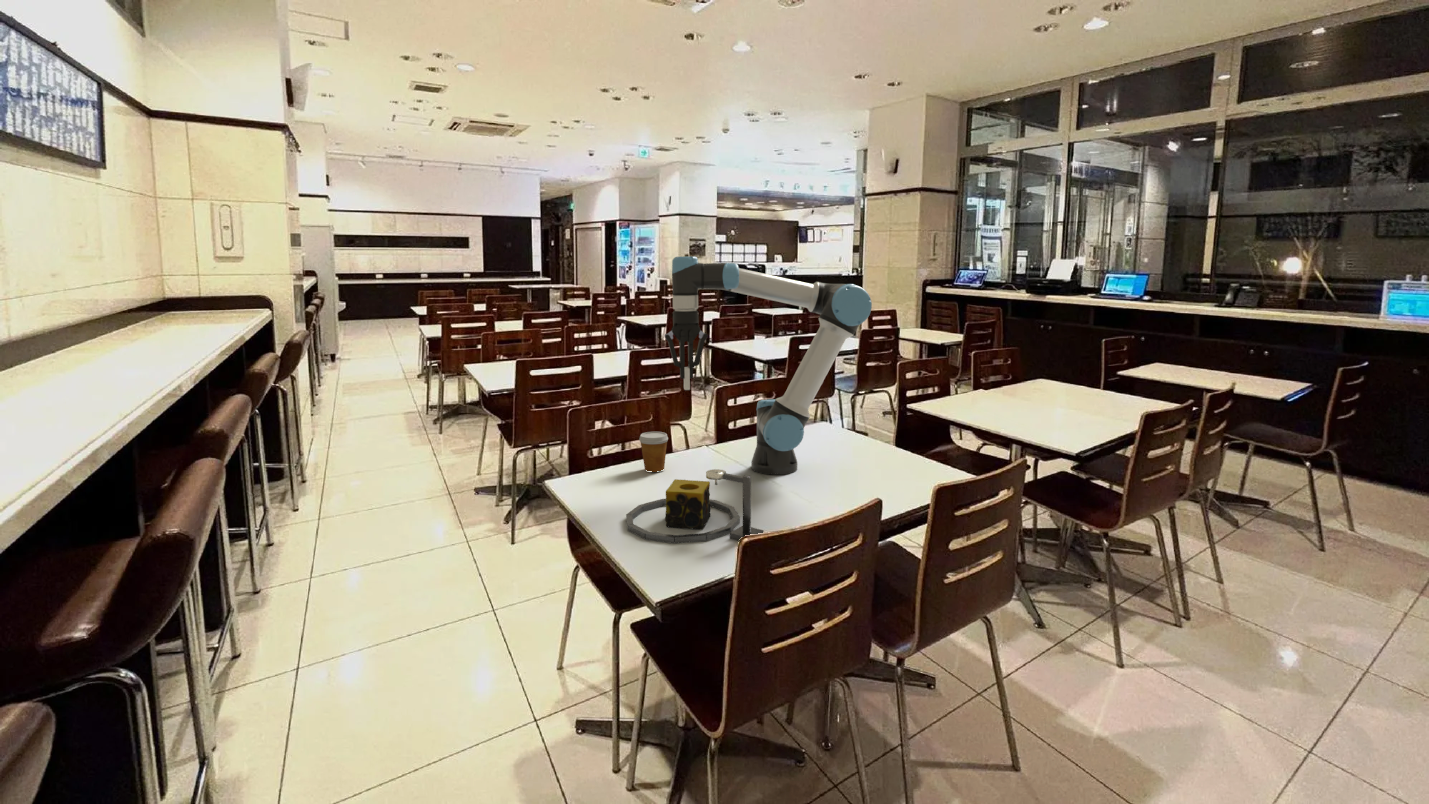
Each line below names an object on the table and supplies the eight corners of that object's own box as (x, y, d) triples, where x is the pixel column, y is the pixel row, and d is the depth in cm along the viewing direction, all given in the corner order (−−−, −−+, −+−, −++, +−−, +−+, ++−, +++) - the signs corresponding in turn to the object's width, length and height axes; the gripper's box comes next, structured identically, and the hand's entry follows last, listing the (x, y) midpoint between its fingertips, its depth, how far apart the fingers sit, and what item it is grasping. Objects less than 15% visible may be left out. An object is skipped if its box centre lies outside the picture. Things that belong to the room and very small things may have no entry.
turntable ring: (726, 499, 196) (726, 494, 196) (749, 537, 168) (749, 532, 168) (624, 506, 191) (624, 501, 191) (630, 547, 163) (630, 541, 163)
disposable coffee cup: (671, 466, 230) (670, 431, 228) (666, 474, 221) (665, 438, 218) (643, 465, 231) (642, 431, 229) (637, 474, 222) (636, 438, 219)
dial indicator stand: (763, 535, 170) (763, 475, 167) (750, 543, 165) (750, 481, 162) (715, 524, 178) (714, 466, 175) (701, 531, 173) (700, 472, 170)
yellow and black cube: (674, 514, 185) (673, 478, 183) (711, 516, 183) (710, 480, 181) (664, 528, 176) (663, 490, 174) (703, 530, 174) (702, 492, 172)
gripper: (705, 308, 207) (706, 386, 211) (662, 309, 204) (663, 387, 209) (709, 310, 199) (710, 390, 204) (664, 311, 197) (666, 392, 202)
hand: (686, 389), depth 206 cm, fingers closed
